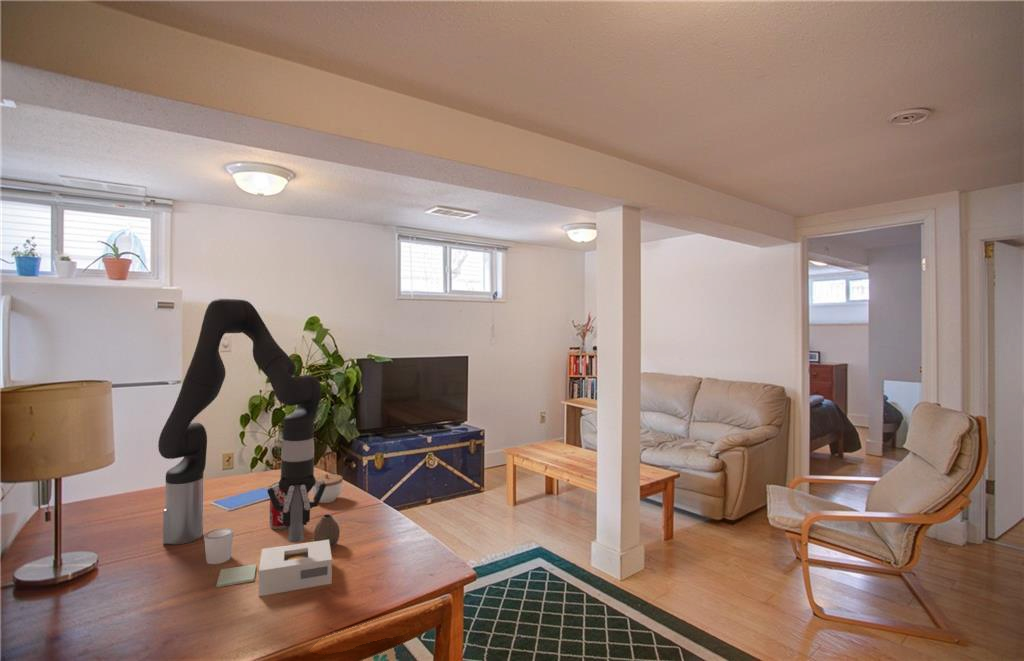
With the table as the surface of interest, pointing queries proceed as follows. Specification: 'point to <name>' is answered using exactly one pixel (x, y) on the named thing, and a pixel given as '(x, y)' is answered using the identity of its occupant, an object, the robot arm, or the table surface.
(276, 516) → the soda can
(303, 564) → the box
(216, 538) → the white cylindrical tub
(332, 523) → the vase
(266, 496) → the tablet computer
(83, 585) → the table surface
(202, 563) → the table surface
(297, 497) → the rod
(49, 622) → the table surface
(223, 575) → the pad
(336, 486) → the lidded jar
